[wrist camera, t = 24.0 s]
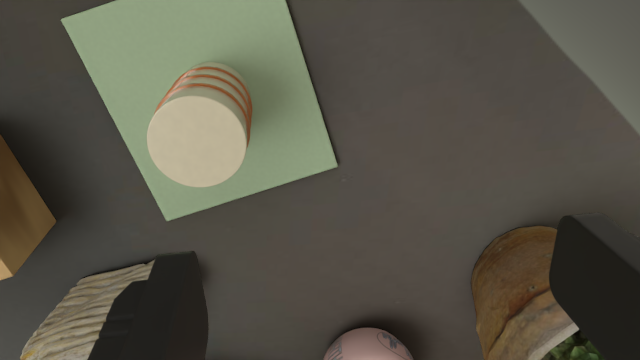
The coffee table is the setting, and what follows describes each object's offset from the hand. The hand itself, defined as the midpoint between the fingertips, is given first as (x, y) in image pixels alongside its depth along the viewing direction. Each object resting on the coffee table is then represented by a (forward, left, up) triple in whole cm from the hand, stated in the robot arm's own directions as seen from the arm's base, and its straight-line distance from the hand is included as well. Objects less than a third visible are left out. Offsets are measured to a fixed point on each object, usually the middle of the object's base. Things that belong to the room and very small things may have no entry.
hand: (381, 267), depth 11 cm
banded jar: (+2, -8, -30) cm, 31 cm away
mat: (+2, -8, -30) cm, 31 cm away
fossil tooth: (+17, -23, -30) cm, 42 cm away
